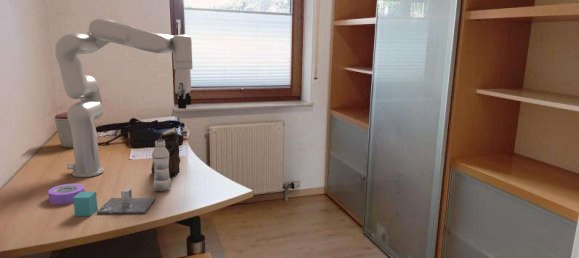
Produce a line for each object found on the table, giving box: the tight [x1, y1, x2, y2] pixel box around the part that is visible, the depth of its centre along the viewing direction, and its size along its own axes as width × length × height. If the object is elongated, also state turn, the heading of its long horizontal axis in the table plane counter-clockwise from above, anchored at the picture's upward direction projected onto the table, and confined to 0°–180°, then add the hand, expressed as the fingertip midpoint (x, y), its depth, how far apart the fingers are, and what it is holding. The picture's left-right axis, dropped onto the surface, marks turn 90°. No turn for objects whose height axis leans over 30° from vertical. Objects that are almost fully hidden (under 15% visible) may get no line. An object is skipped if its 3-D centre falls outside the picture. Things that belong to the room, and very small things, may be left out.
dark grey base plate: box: [96, 188, 156, 215], centre depth 141 cm, size 16×12×6 cm
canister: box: [52, 108, 73, 149], centre depth 217 cm, size 18×18×21 cm
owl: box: [151, 127, 181, 179], centre depth 174 cm, size 13×13×20 cm
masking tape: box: [47, 183, 86, 205], centre depth 148 cm, size 12×12×4 cm
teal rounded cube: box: [73, 191, 99, 217], centre depth 136 cm, size 5×5×7 cm
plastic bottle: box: [151, 139, 172, 192], centre depth 155 cm, size 6×7×20 cm
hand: (184, 106), depth 169 cm, fingers open, 9 cm apart
